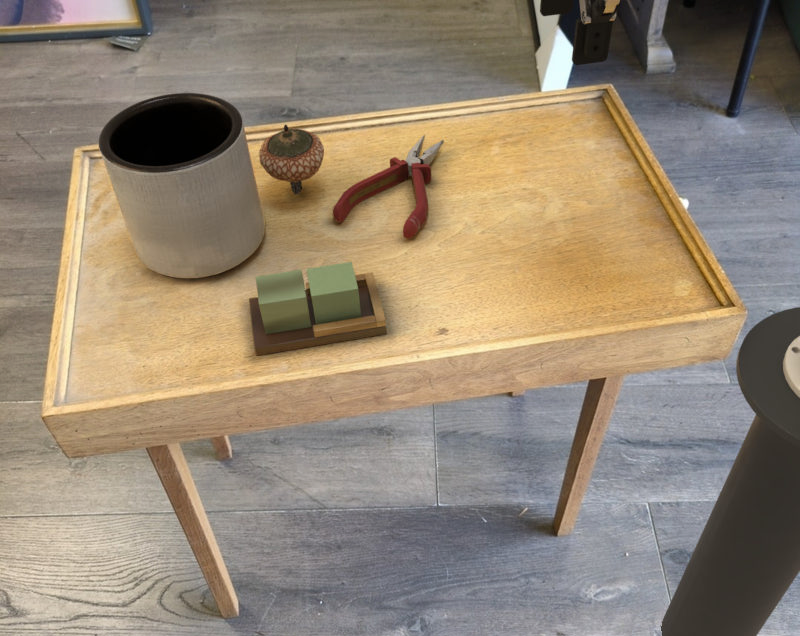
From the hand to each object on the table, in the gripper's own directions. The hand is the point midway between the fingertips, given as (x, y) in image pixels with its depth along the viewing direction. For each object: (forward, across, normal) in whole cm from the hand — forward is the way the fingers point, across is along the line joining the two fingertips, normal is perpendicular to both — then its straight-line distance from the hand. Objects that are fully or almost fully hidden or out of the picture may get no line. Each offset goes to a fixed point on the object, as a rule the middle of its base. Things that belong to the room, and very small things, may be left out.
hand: (571, 36), depth 79 cm
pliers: (+26, +15, +13) cm, 33 cm away
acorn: (+26, +19, +28) cm, 43 cm away
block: (+25, -5, +26) cm, 36 cm away
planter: (+26, +12, +40) cm, 50 cm away
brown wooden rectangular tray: (+26, -5, +28) cm, 39 cm away
